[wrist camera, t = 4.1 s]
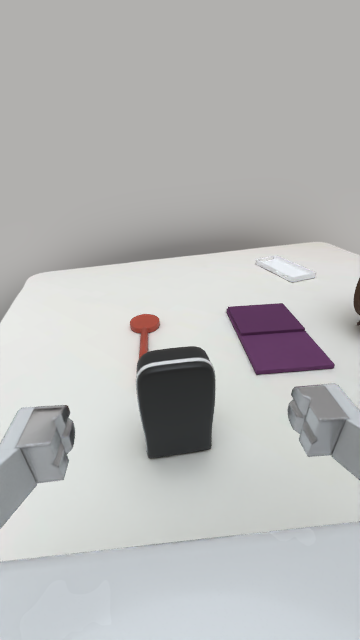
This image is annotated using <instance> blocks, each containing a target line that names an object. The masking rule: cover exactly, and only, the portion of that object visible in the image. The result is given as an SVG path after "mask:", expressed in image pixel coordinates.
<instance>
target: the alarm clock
mask: <svg viewBox="0 0 360 640" xmlns="http://www.w3.org/2000/svg"><path fill="white" fill-rule="evenodd" d="M354 308H355V311H356V312H357V313H358V314H359V315H360V278H359V281H358V283H357V286H356V290H355V294H354ZM357 325H360V321H359V322H357Z"/></svg>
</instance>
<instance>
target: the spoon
mask: <svg viewBox="0 0 360 640" xmlns="http://www.w3.org/2000/svg"><path fill="white" fill-rule="evenodd" d="M159 325H160V323H159V318H158V317H157V316H155V315H151V314H142V315H138V316H136V317H134V318H132V319H131V321H130V327H131V329H132V331H134V332H136V333H141V338H140V354H139V359H140V357H141V356H142V355H143V354H145V353H147V352H148V333H150V332H153V331H155V330H157V329H158V328H159Z"/></svg>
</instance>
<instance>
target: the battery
mask: <svg viewBox="0 0 360 640" xmlns="http://www.w3.org/2000/svg"><path fill="white" fill-rule="evenodd" d="M136 390H137V399H138V406H139V412H140V417H141V421H142V426H143V430H144V435H145V441H146V452H147V454H148V457H149V458H155V457H163V456H170V455H176V454H183V453H189V452H195V451H201V450H206V449H210V448H211V446H212V445H211V436H212V422H213V414H214V405H215V371H214V368H213V365H212V364H211V362H210V360H209V358H208V356H207V354H206V352H205V351H204V350H203V349H201V348H199V347H194V346H190V347H179V348H169V349H162V350H154V351H150V352H147V353H145V354H143V355H142V356H141V357H140V359H139V361H138V363H137V376H136Z"/></svg>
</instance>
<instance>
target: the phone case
mask: <svg viewBox="0 0 360 640" xmlns="http://www.w3.org/2000/svg"><path fill="white" fill-rule="evenodd" d="M271 257H273V259H271V260H266V261H260V260H259V259H265V258H271ZM256 264H257V265H259V266H261V267H263V268H265V269H267V270H269V271H271V272H273V273H274V274H276V275H278V276H280V277H282V278H284V279H286V280H288V281H290V282H296V281H301V280H306V279H310V278H315V276H316V272H315V271H313V270H310V269H308V268H306V267H303V266H301V265H299V264H296V263H294V262H292V261H289V260H287V259H285V258H282V257H280V256H270V257H264V258H258V259H256ZM283 275H285V276H287V278H286V277H284V276H283Z"/></svg>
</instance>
